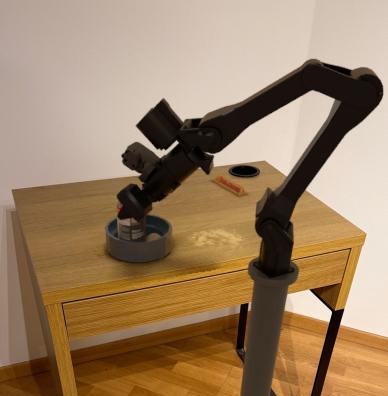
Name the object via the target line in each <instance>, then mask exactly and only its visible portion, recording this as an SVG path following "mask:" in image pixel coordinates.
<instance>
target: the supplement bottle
mask: <svg viewBox="0 0 388 396" xmlns="http://www.w3.org/2000/svg"><path fill="white" fill-rule="evenodd" d="M122 206H123V205H122V204H121V203H120V202H119V200H117V203H116V217H117V215H118V213H119V211H120V209H121V207H122ZM117 223H118V230H117V231H118V239H122V240H126V241H135V242H139V241H146V216H145V217H143V218H142V219H141V220H140V221H139V222H138V221H135V220H134V218H129V219H124V220H120V219H119V218H118V217H117Z"/></svg>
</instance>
